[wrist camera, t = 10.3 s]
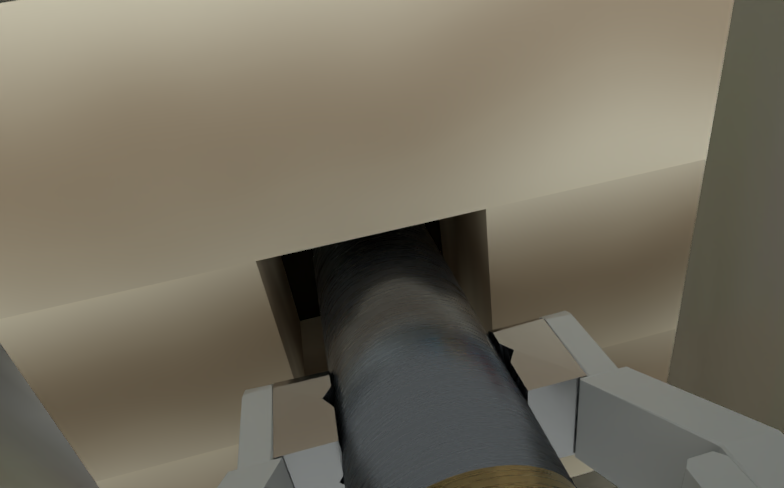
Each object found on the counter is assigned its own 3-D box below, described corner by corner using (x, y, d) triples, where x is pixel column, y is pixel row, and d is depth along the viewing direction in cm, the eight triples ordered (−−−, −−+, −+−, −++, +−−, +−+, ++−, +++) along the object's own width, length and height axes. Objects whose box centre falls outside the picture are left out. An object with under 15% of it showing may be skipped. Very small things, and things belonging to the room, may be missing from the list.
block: (584, 362, 19) (654, 452, 15) (191, 466, 17) (171, 593, 14) (612, -98, 12) (755, -121, 8) (-49, 10, 10) (-210, 37, 7)
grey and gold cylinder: (435, 289, 14) (641, 703, 6) (326, 315, 14) (399, 785, 6) (424, 188, 12) (676, 568, 5) (300, 215, 12) (354, 669, 4)
